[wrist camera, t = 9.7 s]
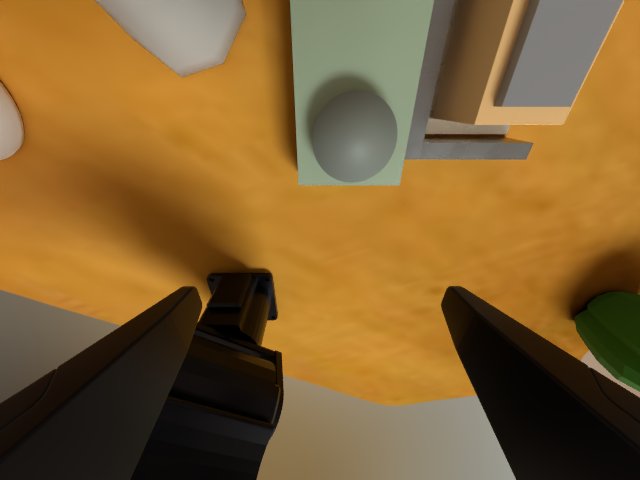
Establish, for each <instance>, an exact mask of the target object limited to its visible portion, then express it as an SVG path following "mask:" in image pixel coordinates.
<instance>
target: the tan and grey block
mask: <svg viewBox="0 0 640 480" xmlns="http://www.w3.org/2000/svg"><path fill="white" fill-rule="evenodd" d="M624 1H625V0H459V2H458V7H457V11H456V16H455V20H454V25H453V29H452V33H451V38H450V42H449V47H448V51H447V56H446V60H445V64H444V69H443V73H442V78H441V82H440V86H439V91H438V95H437V100H436V104H435V109H434V113H433V117H432V118H434V119H440V120H447V121H453V122H459V123H466V124H472V125H563V124H564V122H565V120H566V118H567V116H568V114H569V112H570V110H571V108H572V106H573V104H574V102H575V100H576V98H577V96H578V94H579V92H580V90H581V88H582V86H583V84H584V82H585V80H586V78H587V76H588V74H589V72H590V70H591V68H592V66H593V64H594V62H595V60H596V58H597V56H598V54H599V52H600V50H601V48H602V46H603V44H604V42H605V40H606V38H607V36H608V34H609V32H610V30H611V28H612V26H613V23H614V21H615V19H616V17H617V15H618V13H619V11H620V9H621V7H622V5H623V3H624Z"/></svg>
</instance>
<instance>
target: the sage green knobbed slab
mask: <svg viewBox="0 0 640 480" xmlns="http://www.w3.org/2000/svg"><path fill="white" fill-rule="evenodd" d="M433 4H434V0H290V11H291V32H292V54H293V75H294V97H295V118H296V140H297V161H298V183H299V185H400V180H401V174H402V169H403V164H404V158H405V153H406V148H407V142H408V137H409V132H410V126H411V121H412V116H413V110H414V105H415V100H416V94H417V89H418V84H419V78H420V73H421V68H422V62H423V57H424V52H425V46H426V41H427V36H428V30H429V25H430V20H431V14H432V9H433Z"/></svg>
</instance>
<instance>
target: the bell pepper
mask: <svg viewBox="0 0 640 480" xmlns="http://www.w3.org/2000/svg"><path fill="white" fill-rule="evenodd" d="M574 318H575V323H576V329H577V332H578V333H579V335H580V337H581V338H582V340H583V341H584V343H585V344H586V346H587V347H588V349H589V350H590V351H591V353H592V354H593V355H594V357H595V358H596V360H597V361H598V362H599V363H600V364H601V365H603V367H604V368H606V370H608V371H609V372H610V373H611V374H612V375H613V376H614V377H615V378H616V379H617V380H619V381H621V382H623V383H625V384H626V385H628V386H630V387H632V388H634V389H636V390H638V391H640V295H639V294H636V293H631V292H625V291H617V292H608V293H605V294H602V295H599V296H597V297H596V298H594V299H593V300H592V301H591V302H590V303H589V304H588V305H587V310H585V311H583V312H581V313H579V314H577V315H576V316H575V317H574Z"/></svg>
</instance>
